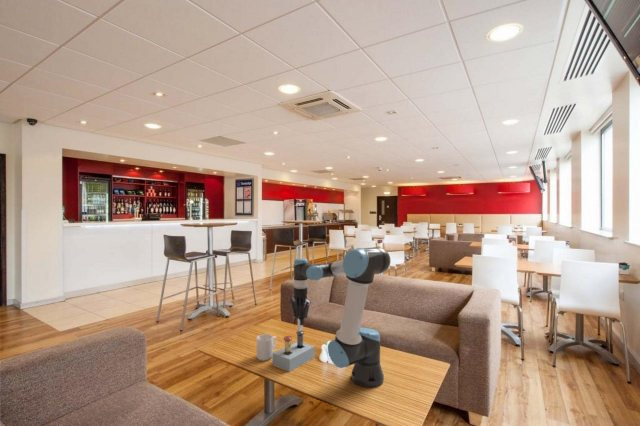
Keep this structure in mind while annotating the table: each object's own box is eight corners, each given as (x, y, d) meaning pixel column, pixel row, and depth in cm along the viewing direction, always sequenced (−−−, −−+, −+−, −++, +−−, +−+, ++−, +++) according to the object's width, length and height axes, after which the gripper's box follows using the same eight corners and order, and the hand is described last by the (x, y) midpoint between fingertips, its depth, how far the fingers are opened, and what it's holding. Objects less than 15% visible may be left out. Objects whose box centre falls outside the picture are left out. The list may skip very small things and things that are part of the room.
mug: (263, 363, 167) (263, 341, 167) (253, 357, 173) (253, 337, 173) (280, 355, 175) (281, 335, 175) (270, 351, 181) (271, 331, 181)
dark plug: (305, 348, 174) (305, 331, 174) (300, 350, 170) (300, 333, 170) (299, 346, 176) (299, 330, 176) (294, 348, 173) (295, 332, 173)
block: (314, 357, 174) (314, 346, 174) (289, 371, 157) (289, 359, 158) (297, 351, 181) (297, 341, 181) (272, 364, 165) (272, 353, 165)
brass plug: (293, 354, 166) (293, 337, 166) (287, 357, 162) (288, 339, 162) (287, 352, 168) (287, 335, 168) (282, 355, 165) (282, 337, 165)
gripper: (314, 287, 173) (313, 331, 172) (295, 284, 180) (295, 326, 180) (305, 290, 167) (305, 335, 166) (287, 286, 174) (286, 329, 174)
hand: (300, 330), depth 173 cm, fingers closed
